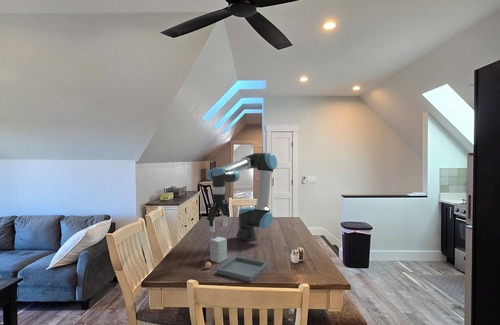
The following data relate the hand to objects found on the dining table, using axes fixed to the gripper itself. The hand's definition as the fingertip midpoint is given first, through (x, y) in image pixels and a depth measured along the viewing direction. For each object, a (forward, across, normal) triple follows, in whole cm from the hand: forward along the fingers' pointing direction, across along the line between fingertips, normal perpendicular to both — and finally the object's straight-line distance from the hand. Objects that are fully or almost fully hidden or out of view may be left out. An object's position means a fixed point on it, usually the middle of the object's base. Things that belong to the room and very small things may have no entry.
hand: (218, 229), depth 158 cm
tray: (+18, +6, +20) cm, 28 cm away
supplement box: (+19, 0, 0) cm, 19 cm away
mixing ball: (+18, +13, +2) cm, 23 cm away
